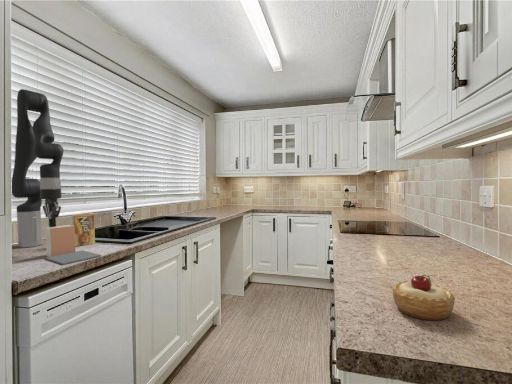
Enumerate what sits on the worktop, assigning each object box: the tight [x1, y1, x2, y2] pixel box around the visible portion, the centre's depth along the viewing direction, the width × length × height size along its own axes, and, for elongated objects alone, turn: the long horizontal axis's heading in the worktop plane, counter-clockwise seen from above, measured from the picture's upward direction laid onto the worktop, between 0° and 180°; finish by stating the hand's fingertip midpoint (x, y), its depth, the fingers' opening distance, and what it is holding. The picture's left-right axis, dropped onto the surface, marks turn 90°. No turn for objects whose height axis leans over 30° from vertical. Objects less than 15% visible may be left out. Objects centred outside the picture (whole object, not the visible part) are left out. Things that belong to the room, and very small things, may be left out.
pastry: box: [392, 273, 456, 321], centre depth 63 cm, size 12×12×9 cm
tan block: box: [45, 224, 76, 257], centre depth 121 cm, size 5×9×12 cm, turn 147°
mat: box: [44, 250, 102, 266], centre depth 115 cm, size 16×14×1 cm
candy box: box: [72, 212, 96, 247], centre depth 140 cm, size 9×4×15 cm, turn 129°
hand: (52, 227), depth 125 cm, fingers closed
